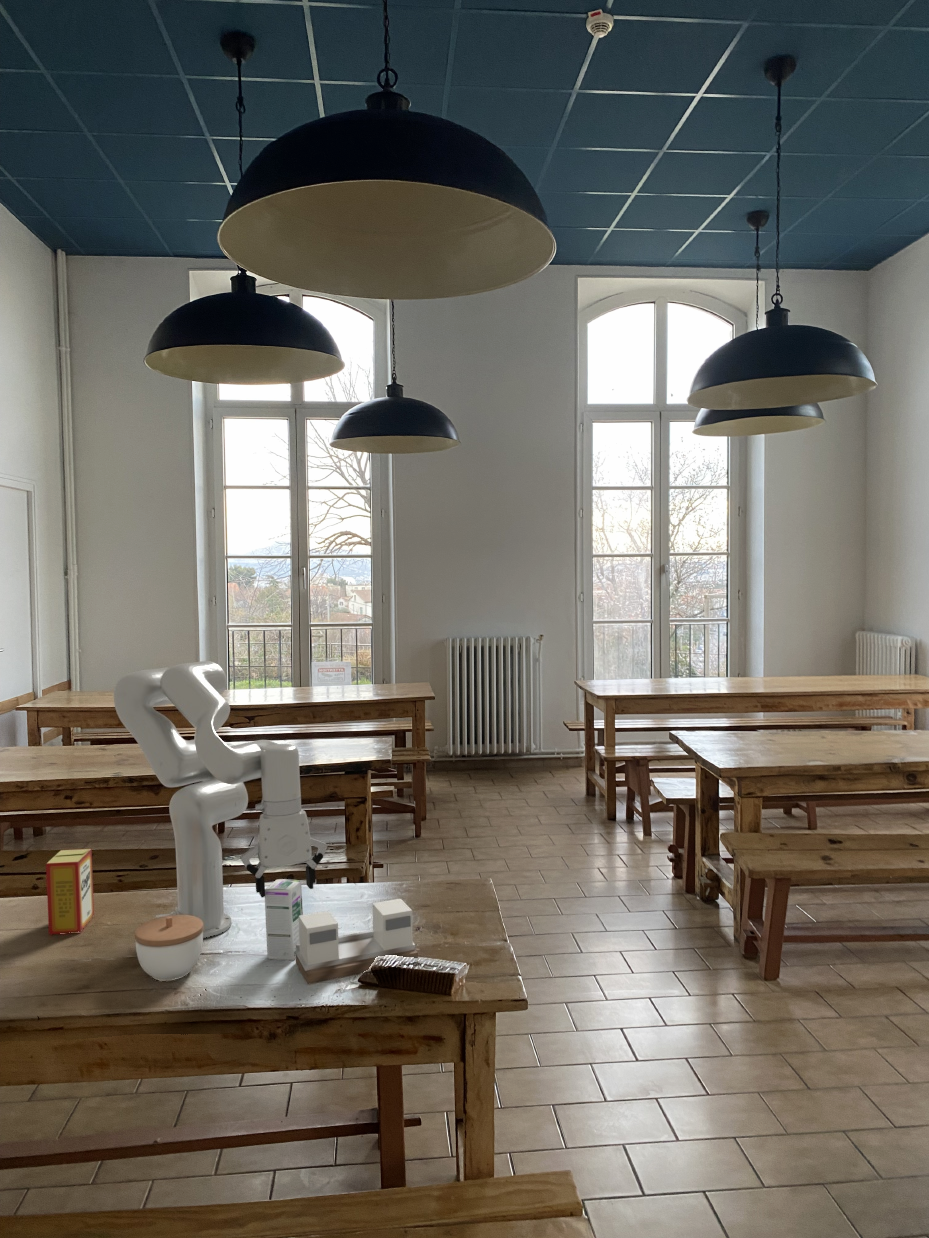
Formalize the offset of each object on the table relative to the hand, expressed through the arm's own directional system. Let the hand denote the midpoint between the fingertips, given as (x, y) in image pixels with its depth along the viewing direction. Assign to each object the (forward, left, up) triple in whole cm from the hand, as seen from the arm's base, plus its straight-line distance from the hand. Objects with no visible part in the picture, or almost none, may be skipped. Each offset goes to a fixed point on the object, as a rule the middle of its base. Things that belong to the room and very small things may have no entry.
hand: (286, 891), depth 177 cm
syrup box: (0, +1, -13) cm, 13 cm away
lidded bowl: (-22, +2, -13) cm, 26 cm away
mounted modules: (+12, -10, -10) cm, 18 cm away
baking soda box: (-40, +36, -13) cm, 55 cm away
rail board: (+12, -9, -13) cm, 20 cm away
